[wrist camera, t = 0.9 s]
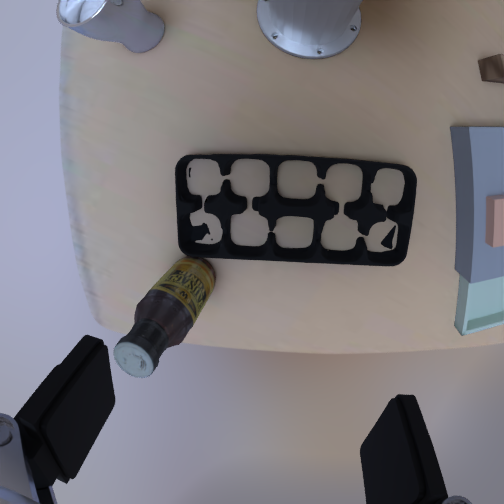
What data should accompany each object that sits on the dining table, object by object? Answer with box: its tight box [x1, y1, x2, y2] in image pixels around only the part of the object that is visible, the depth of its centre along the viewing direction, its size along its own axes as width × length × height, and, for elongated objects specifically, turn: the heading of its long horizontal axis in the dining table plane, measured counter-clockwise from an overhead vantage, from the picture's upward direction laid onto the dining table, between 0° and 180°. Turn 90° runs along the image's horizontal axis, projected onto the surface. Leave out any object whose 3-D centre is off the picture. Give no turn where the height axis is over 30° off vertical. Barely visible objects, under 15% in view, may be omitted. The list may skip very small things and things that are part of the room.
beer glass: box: [56, 0, 165, 53], centre depth 26 cm, size 7×7×15 cm
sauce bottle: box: [114, 257, 216, 378], centre depth 35 cm, size 7×6×20 cm
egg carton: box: [175, 154, 417, 266], centre depth 38 cm, size 18×30×4 cm, turn 101°
